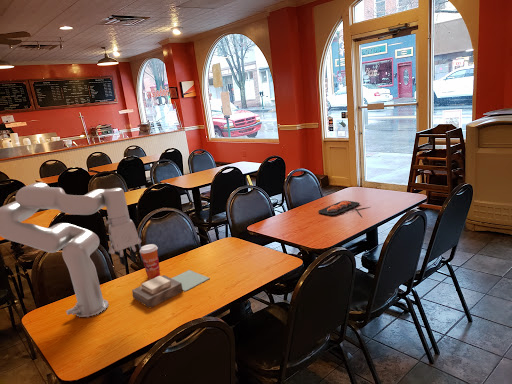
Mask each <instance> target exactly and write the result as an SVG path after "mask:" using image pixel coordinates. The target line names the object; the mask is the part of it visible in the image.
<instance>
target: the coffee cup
mask: <svg viewBox="0 0 512 384" xmlns="http://www.w3.org/2000/svg"><path fill="white" fill-rule="evenodd" d="M158 248H159V247H158V246H157V245H156V244H154V243H151V244H145V245H142V246H141V247H140V250H139V253H140V255H141V258H142V262H143V266H144V269H145V273H146V276H147V278H148V279H149V280H151V279H153V278H155V277H158V276H161V270H160V262H159V255H158Z"/></svg>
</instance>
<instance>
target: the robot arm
mask: <svg viewBox="0 0 512 384" xmlns="http://www.w3.org/2000/svg"><path fill="white" fill-rule="evenodd" d="M104 208H106V212H107V216H108V217H107V218H108V219H107V220H106V221H105V223H106V225H108V237H109V242H110V246H109V249H108V254H111V255H115V256H116V255H117V256H118V258H119V263H120V264H121V265H123V267H124V266H125V267H126V266H127V260H126V256H125V255H124V250H125V249H128V248H129V250H130V251H129V255H130V260H131V261H132V262H134V263H135V262H137V253H136V251H137V249H138V247H139V246H140V244H141V243H142V239H141V238H140V237H139V234H138V232H137V228H136V225H135V223H134V221H133V220H132V219H131V218H130V214H129V210H128V209H129V208H128V204H127V199H126V195H125V191H124V189H123V188H121V187H114V188H113V187H112V188H106V189H105V188H98V189H97V188H96V189H94V190H91V191H89V192H87V193H86V194H84V195H80V194H79V195H77V194H75V195H74V194H67V193H66V192H65V190H64V189H63V188H62V187H54V186H53V187H52V186H51V187H50V186H49V185H48V184H47V183H44V182H33V183H31V184H28V185H24V186H23V187H21V188H20V189H19V190H18V191H17V192H16V193H15V200H14V201H13V202H10V203H8V204H5V205H2V206H0V238H3V239H5V240H7V241H11V242H15V243H18V244H21V245H24V246H25V245H26V246H28V247H31V248H33V249H36V250H39V251H43V252H46V253H51V254H53V253H57V252H58V251H60V250H61V249H62V251H61V252H62V255H61V256H62V258H63V261H64V263H65V265H66V267H67V269H68V272H69V276H70V280H71V283H72V287H73V290H74V294H75V298H76V301H77V302H75V305H74V306H73V307H72V308H69V309H67V310H65V312H66V315H67V316H69V315H73V316H74V315H76V317H78V316H79V317H78V318H80V317H87V318H90V317H89V316H92V317H94V316H93V315H95V316H97V315H99V313H100V312H101V313H103V312H104V311H105V310H106V308H107V309H108V307H109V301H108V300H107V299H104V297H103V294H102V289H101V285H100V281H99V277H98V272H97V268H96V266H95V263H94V262H93V260H92V258H91V257H90V256H91V255H92V254H93V253H94V252H95V251H96V250H97V249H98V247H99V246H100V238H99V236H98V235H97V234H96V233H95V232H93V231H92V230H89V229H87V228H83V227H81V226H77V225H75V224H71V223H68V222H59V223H56V224H53V225H52V226H50V227H45V226H44V227H43V226H40V225H37V224H35V223H30V222H29V223H27V222H24V221H25V220H28V219H29V218H30V217H32V216H33V215H35V214H36V213H37V212H38V211H39V210H40V209H41V210H58V211H59V212H62V213H65V214H68V215H78V216H79V215H80V216H89V215H93V214H95V213H97V212H98V211H99V210H102V209H104ZM103 310H104V311H103ZM102 311H103V312H102ZM101 313H100V314H101ZM96 314H97V315H96Z"/></svg>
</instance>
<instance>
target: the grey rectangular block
mask: <svg viewBox="0 0 512 384" xmlns="http://www.w3.org/2000/svg"><path fill="white" fill-rule="evenodd" d="M160 276H161V277H164V278H166V279H168V280H170V281H171V285H170V286H168V287H166V288H164V289H162V290H160V291H158V292H156V293H154V294H152V293H150V292H148V291H146V290H144V289H142V286H141V285H140V286H137V287H135V288H133V289H131V292H132V293H131V294H132V297H133V299H134V298H135V299H136V300H135V299H134V300H135V301H137V300H138V301H137V302H139V301H140V302H141V304H142V303H143V304H142V305H144V304H145V305H146V306H145V305H144V306H145V307H147V306H148V307H147V308H149V307H152V308H154V307H156V306H158V305H159V303H160V304H162V303H163V301H164V302H165V301H167V300H169V299H171V298H173V297H175V296H177V295H179V294H181V293H182V291H183V289H182V284H181V283H180V282H178V281H176V280H174V279H171V278H172V277H169V276H167V275H160ZM180 292H181V293H180ZM183 292H184V291H183ZM140 302H139V303H140ZM161 302H162V303H161ZM157 304H158V305H157ZM155 305H156V306H155ZM153 306H154V307H153Z"/></svg>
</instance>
